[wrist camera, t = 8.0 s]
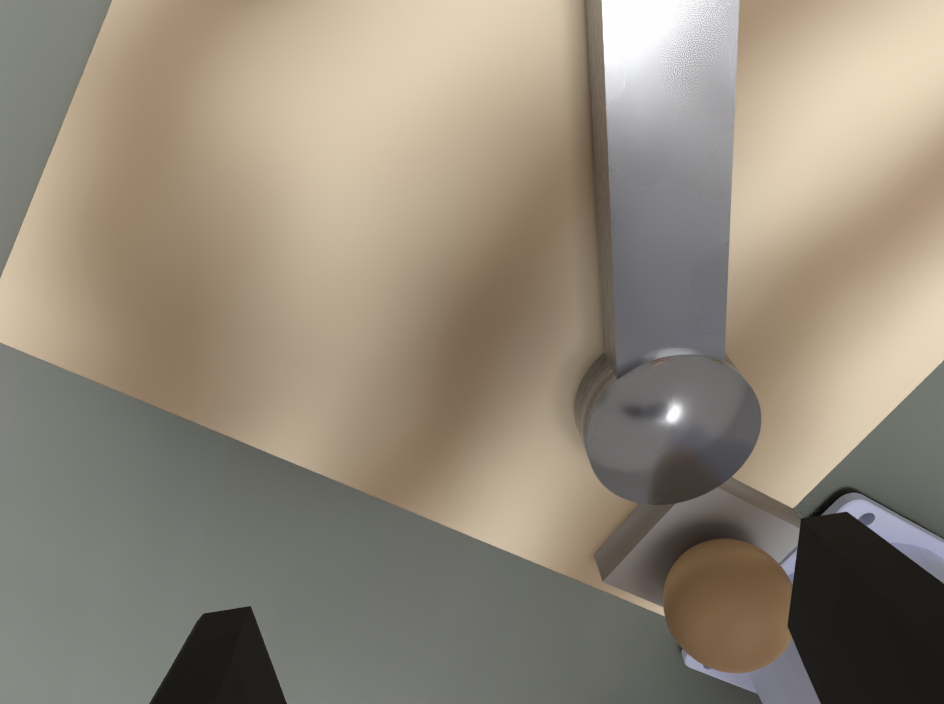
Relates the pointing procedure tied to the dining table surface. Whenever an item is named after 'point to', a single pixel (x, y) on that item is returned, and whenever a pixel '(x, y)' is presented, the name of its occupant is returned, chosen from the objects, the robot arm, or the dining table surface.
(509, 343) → the board
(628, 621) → the dining table surface
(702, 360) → the lever
